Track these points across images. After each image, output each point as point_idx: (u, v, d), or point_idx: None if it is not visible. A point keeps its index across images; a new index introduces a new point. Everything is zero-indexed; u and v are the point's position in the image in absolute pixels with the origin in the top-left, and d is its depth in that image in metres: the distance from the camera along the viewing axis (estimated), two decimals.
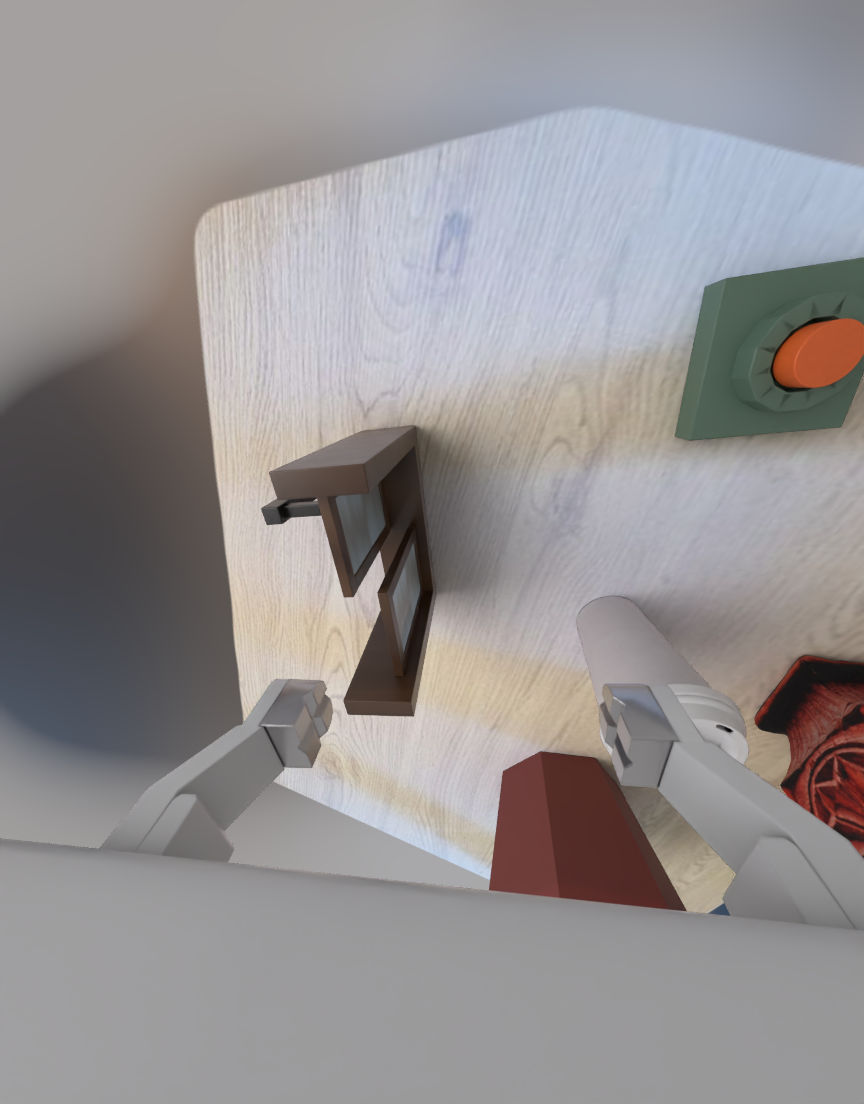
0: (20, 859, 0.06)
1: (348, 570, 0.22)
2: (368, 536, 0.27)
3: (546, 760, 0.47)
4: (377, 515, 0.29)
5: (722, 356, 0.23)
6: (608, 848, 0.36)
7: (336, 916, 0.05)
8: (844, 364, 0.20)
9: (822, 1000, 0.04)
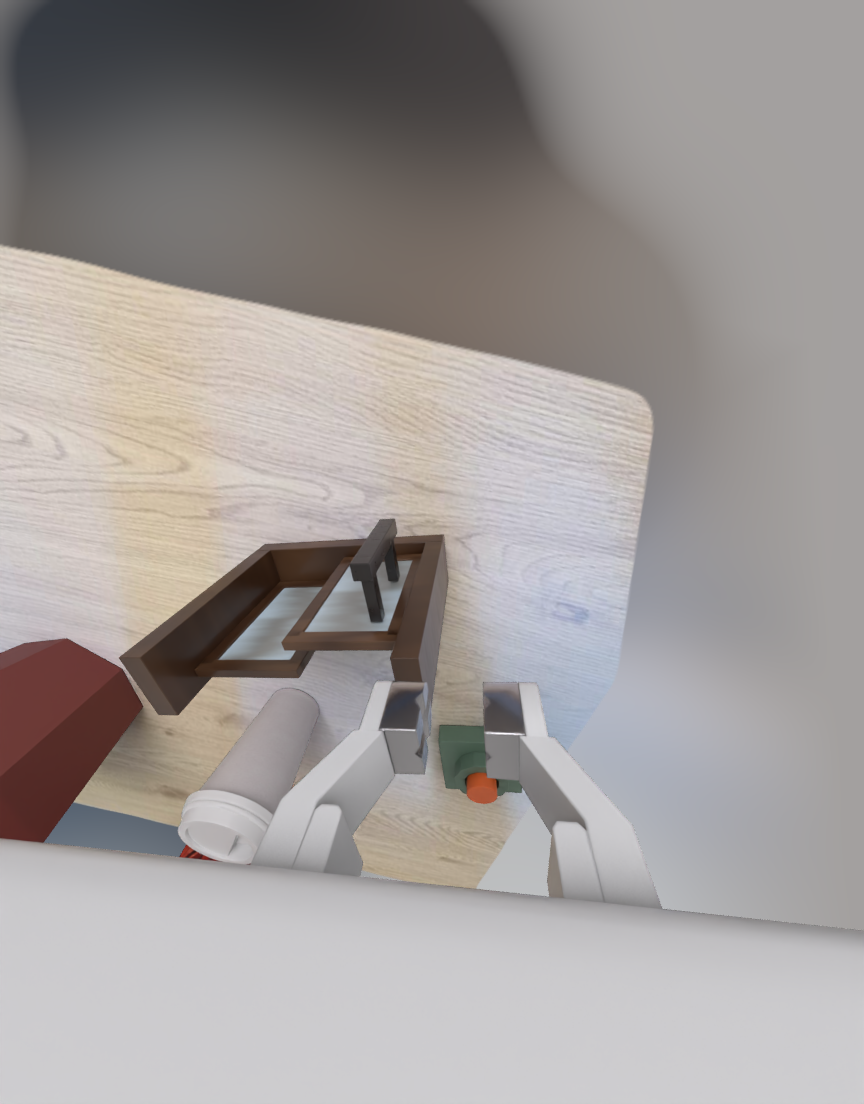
0: (20, 859, 0.06)
1: None
2: None
3: (115, 679, 0.44)
4: None
5: (484, 747, 0.40)
6: (61, 781, 0.37)
7: (336, 916, 0.05)
8: (476, 799, 0.40)
9: (822, 1000, 0.04)
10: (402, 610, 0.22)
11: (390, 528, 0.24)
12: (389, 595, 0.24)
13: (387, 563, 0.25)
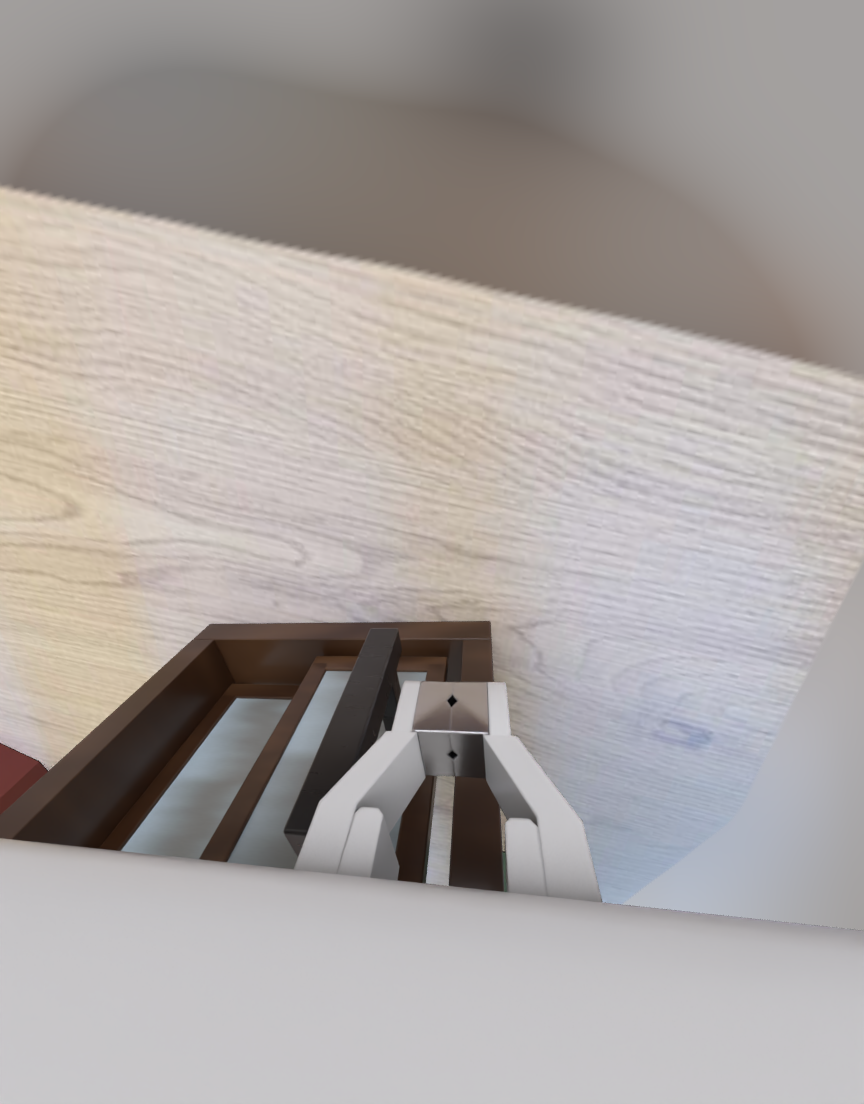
0: (20, 859, 0.06)
1: None
2: None
3: (28, 779, 0.33)
4: None
5: None
6: None
7: (336, 916, 0.05)
8: None
9: (822, 1000, 0.04)
10: (413, 845, 0.11)
11: (389, 661, 0.12)
12: None
13: None
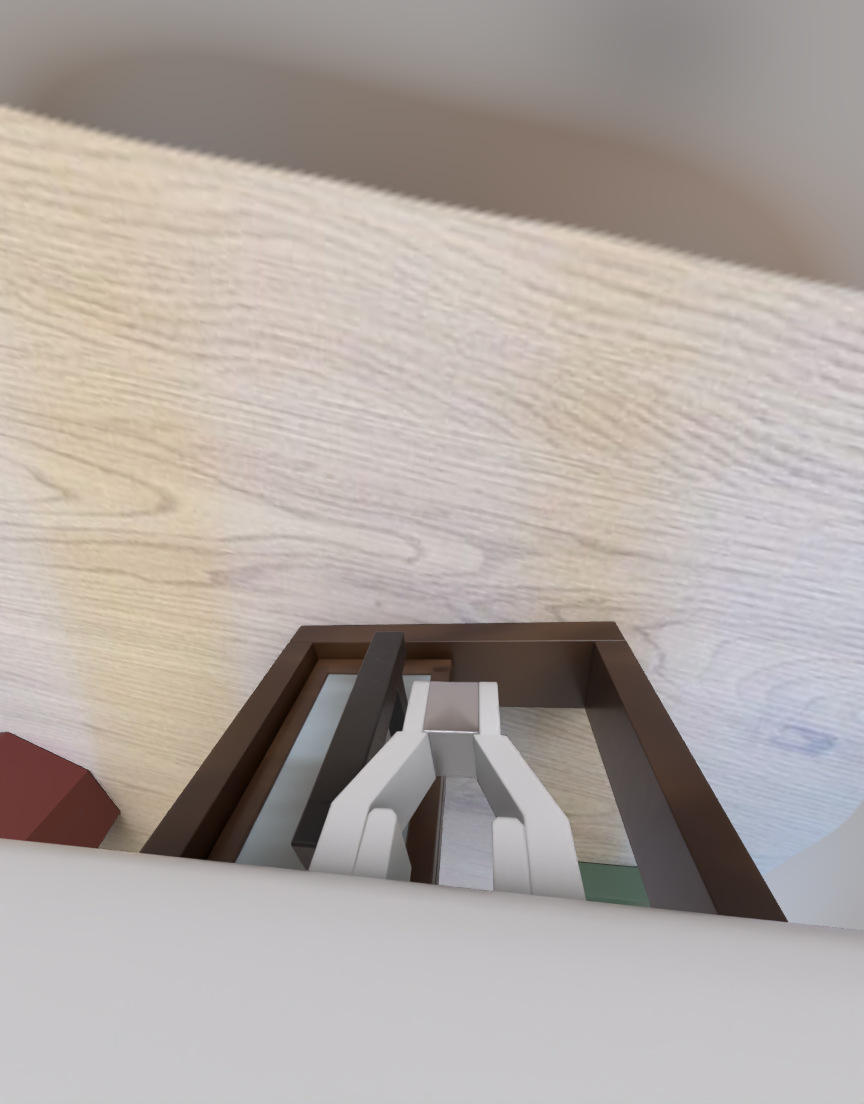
0: (20, 859, 0.06)
1: None
2: None
3: (78, 788, 0.31)
4: None
5: (614, 903, 0.28)
6: None
7: (336, 916, 0.05)
8: None
9: (822, 1000, 0.04)
10: (421, 853, 0.11)
11: (395, 665, 0.12)
12: None
13: None
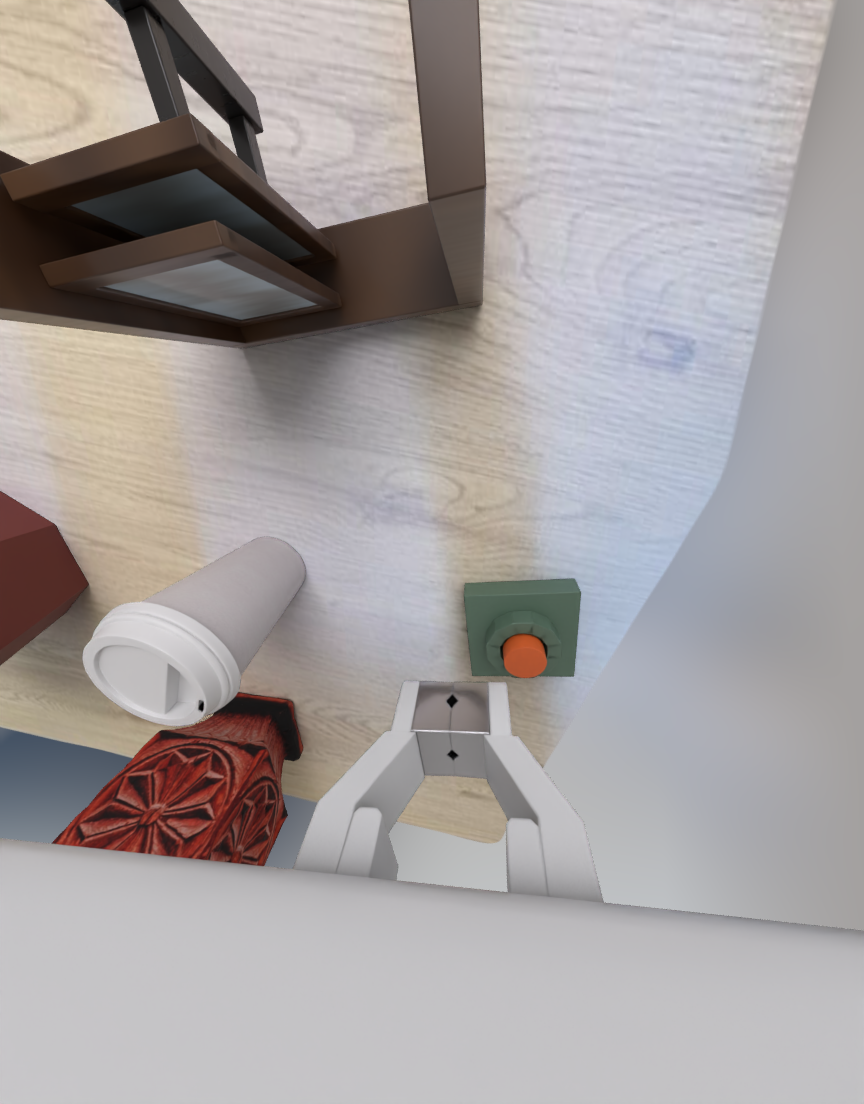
0: (20, 859, 0.06)
1: (64, 191, 0.12)
2: None
3: (45, 534, 0.34)
4: None
5: (527, 602, 0.30)
6: None
7: (336, 916, 0.05)
8: (517, 671, 0.29)
9: (822, 1000, 0.04)
10: None
11: (232, 69, 0.14)
12: None
13: None
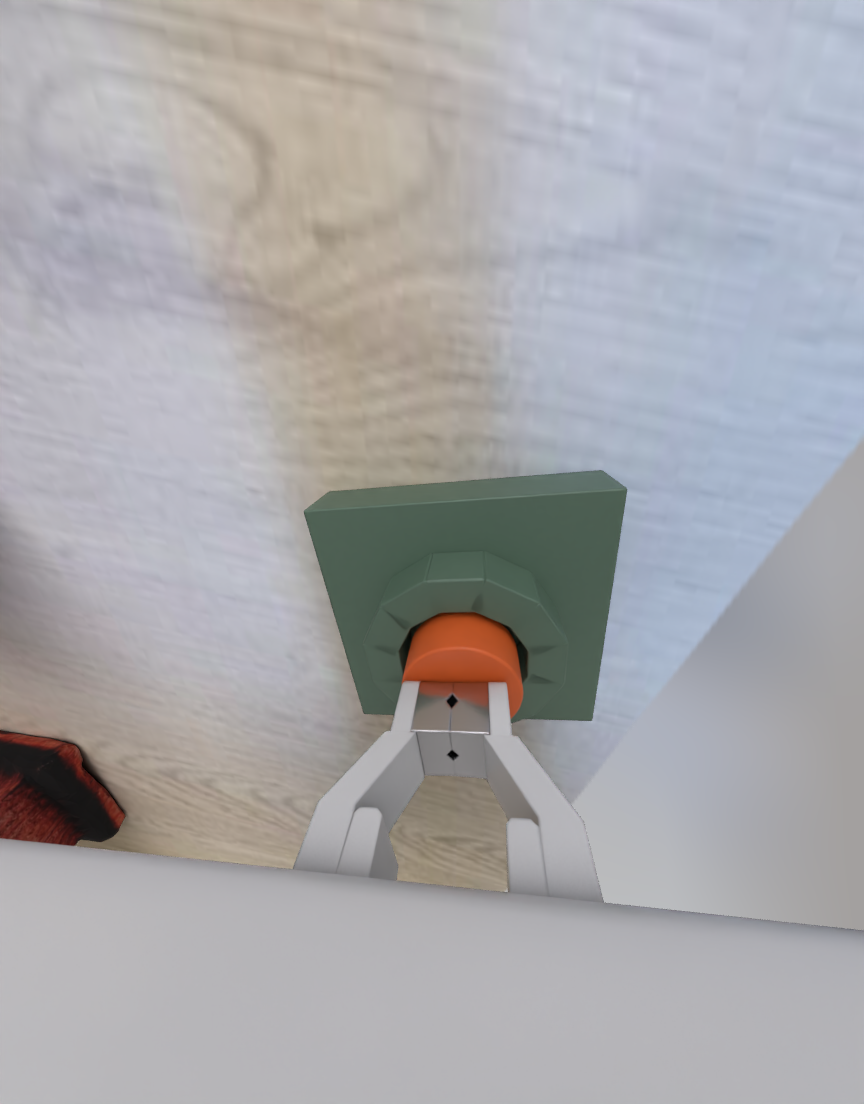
0: (20, 859, 0.06)
1: None
2: None
3: None
4: None
5: (472, 526, 0.11)
6: None
7: (336, 916, 0.05)
8: None
9: (822, 1000, 0.04)
10: None
11: None
12: None
13: None
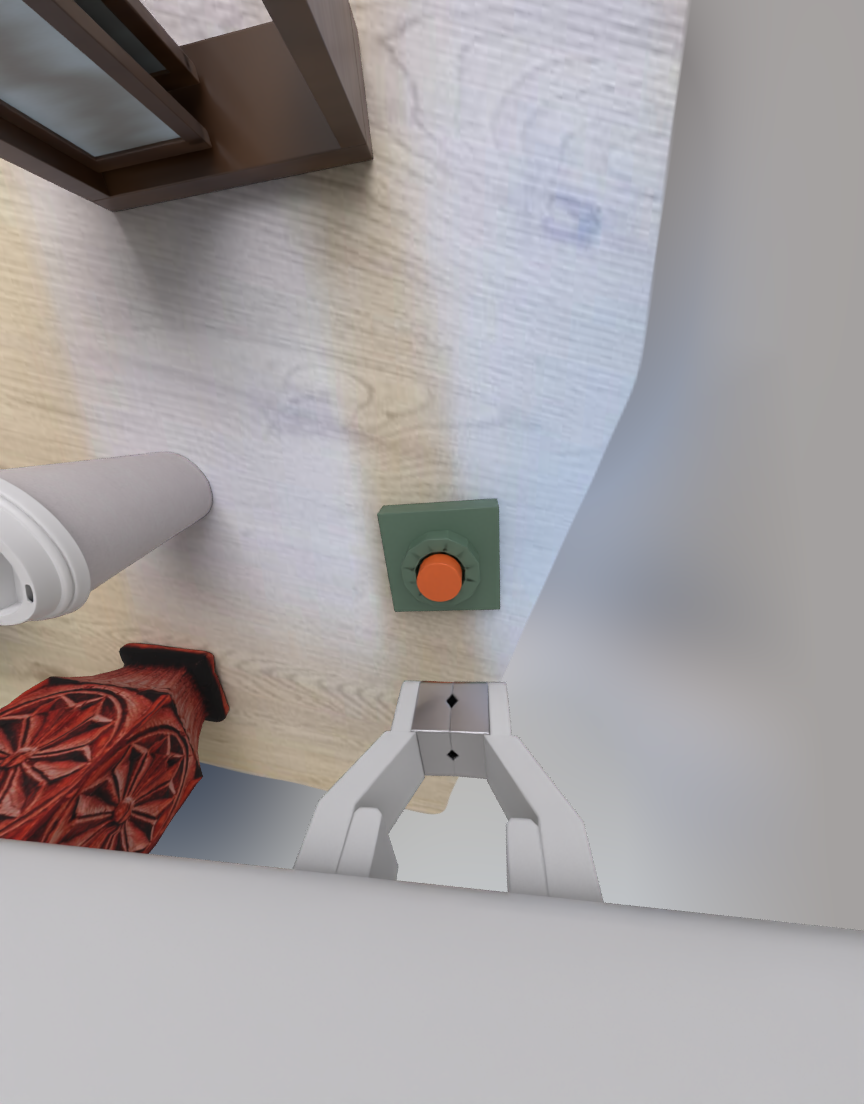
0: (20, 859, 0.06)
1: None
2: None
3: None
4: None
5: (444, 520, 0.28)
6: None
7: (336, 916, 0.05)
8: (432, 593, 0.27)
9: (822, 1000, 0.04)
10: None
11: None
12: None
13: None
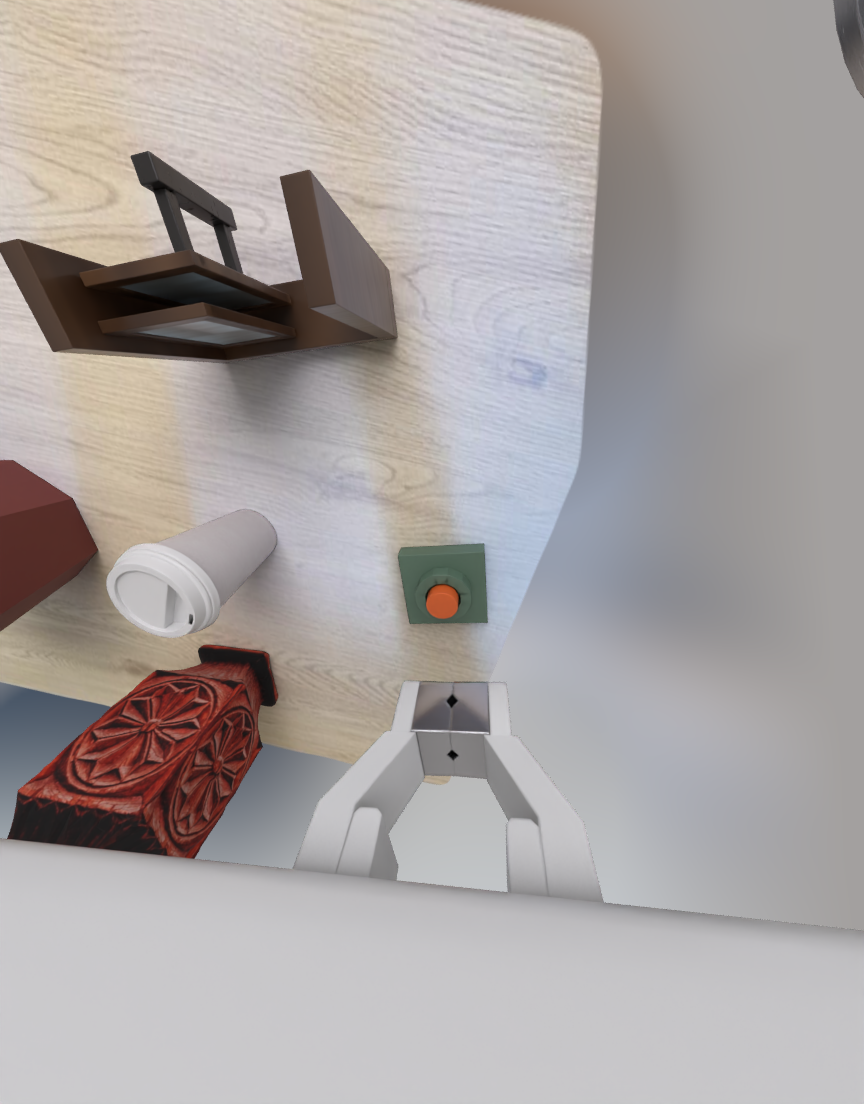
0: (20, 859, 0.06)
1: (116, 282, 0.20)
2: (183, 298, 0.25)
3: (64, 505, 0.42)
4: (218, 305, 0.27)
5: (445, 560, 0.39)
6: None
7: (336, 916, 0.05)
8: (437, 613, 0.38)
9: (822, 1000, 0.04)
10: None
11: (216, 199, 0.23)
12: None
13: (225, 258, 0.24)
